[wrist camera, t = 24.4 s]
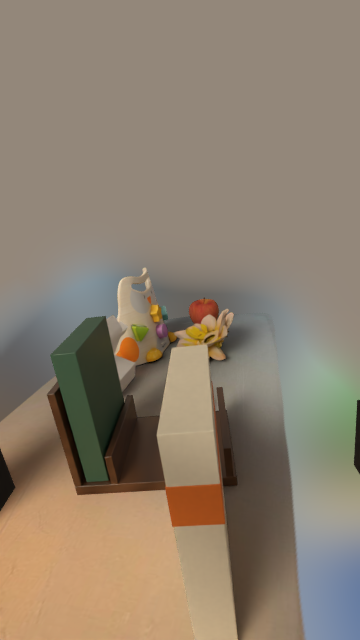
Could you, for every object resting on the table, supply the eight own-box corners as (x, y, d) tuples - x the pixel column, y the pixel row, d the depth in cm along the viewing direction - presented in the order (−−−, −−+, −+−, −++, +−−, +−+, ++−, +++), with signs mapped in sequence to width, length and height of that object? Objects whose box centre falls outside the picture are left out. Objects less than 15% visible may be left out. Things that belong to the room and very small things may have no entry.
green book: (128, 420, 47) (105, 315, 41) (108, 481, 36) (75, 352, 31) (110, 421, 47) (86, 317, 42) (86, 482, 36) (49, 354, 31)
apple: (211, 319, 86) (208, 290, 83) (225, 327, 80) (222, 296, 77) (186, 326, 84) (182, 296, 81) (198, 334, 77) (194, 302, 75)
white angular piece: (63, 414, 52) (40, 336, 48) (105, 372, 65) (90, 307, 60) (109, 418, 50) (90, 336, 45) (143, 373, 62) (131, 305, 58)
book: (225, 506, 33) (207, 343, 27) (239, 646, 22) (215, 431, 16) (195, 507, 33) (171, 347, 27) (194, 647, 23) (155, 435, 17)
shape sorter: (153, 372, 62) (136, 282, 56) (105, 370, 66) (85, 285, 60) (183, 332, 80) (173, 261, 74) (144, 333, 83) (132, 264, 77)
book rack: (227, 417, 46) (219, 331, 42) (237, 485, 35) (227, 378, 31) (105, 426, 48) (85, 345, 44) (77, 495, 36) (46, 394, 32)
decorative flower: (174, 333, 75) (178, 292, 71) (222, 338, 75) (229, 298, 71) (169, 367, 61) (174, 319, 57) (228, 374, 61) (237, 327, 57)
